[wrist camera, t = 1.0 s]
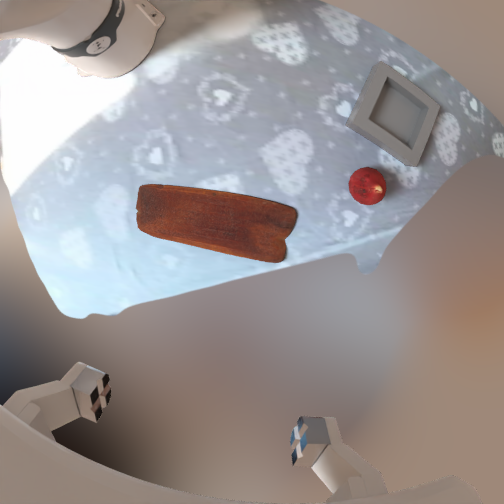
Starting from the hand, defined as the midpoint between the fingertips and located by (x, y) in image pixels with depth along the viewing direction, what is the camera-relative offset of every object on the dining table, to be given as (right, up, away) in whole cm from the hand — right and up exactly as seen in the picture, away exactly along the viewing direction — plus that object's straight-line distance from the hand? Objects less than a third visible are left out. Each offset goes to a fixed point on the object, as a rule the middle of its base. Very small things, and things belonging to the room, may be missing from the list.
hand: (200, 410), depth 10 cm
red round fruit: (+20, +18, +32) cm, 42 cm away
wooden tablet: (-5, +12, +35) cm, 38 cm away
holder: (+26, +29, +28) cm, 48 cm away
